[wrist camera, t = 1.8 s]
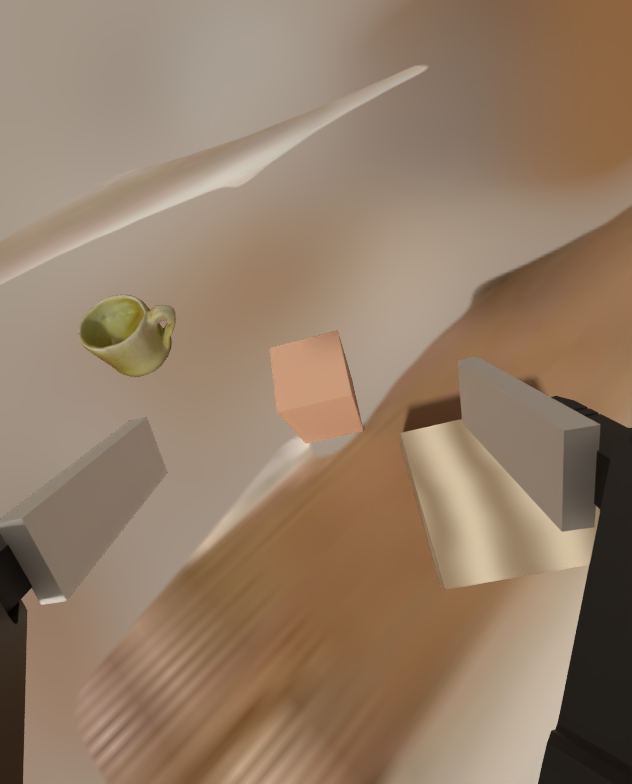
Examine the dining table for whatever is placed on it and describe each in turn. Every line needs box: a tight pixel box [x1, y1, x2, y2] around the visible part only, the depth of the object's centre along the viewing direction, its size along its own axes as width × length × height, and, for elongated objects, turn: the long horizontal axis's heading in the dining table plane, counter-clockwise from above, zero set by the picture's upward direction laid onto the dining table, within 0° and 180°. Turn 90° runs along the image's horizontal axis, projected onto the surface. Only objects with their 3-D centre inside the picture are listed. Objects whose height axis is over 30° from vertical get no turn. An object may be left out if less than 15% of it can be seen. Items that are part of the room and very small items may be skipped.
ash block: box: [400, 419, 600, 590], centre depth 34 cm, size 14×14×5 cm
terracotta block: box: [270, 331, 363, 443], centre depth 39 cm, size 7×7×11 cm
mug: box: [78, 295, 175, 377], centre depth 50 cm, size 12×10×10 cm
